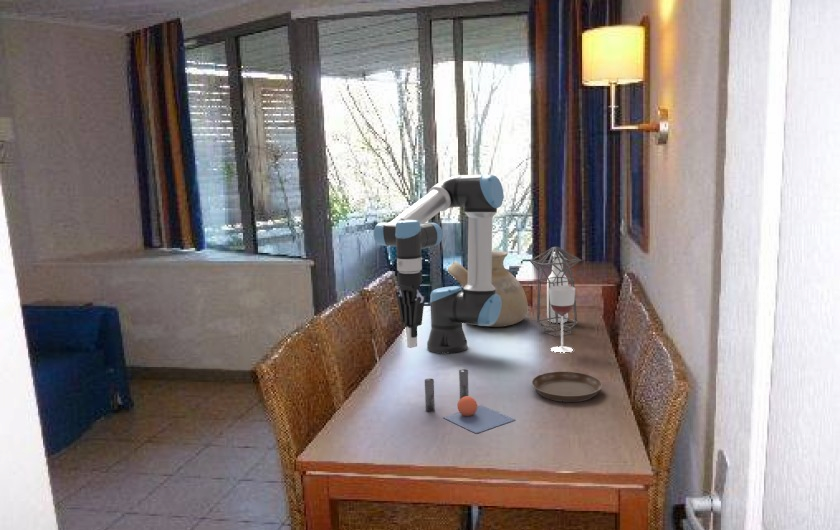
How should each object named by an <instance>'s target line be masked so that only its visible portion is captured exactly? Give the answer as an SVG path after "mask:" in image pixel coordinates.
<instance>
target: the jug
mask: <svg viewBox="0 0 840 530" xmlns="http://www.w3.org/2000/svg"><path fill="white" fill-rule="evenodd" d="M507 256H508V252H506V251H503V250H501V251H499V250H492V276H491V284H492V285H493V286H494V287H495V294H498V295H499V296H500V298H501V301H502V305H501V311H500V315H499V317H498V319H497V321H496V322H495V323H494V324H493V325H491V326H488V327H490V328H492V327H493V328H499V327H500V328H501V327H507V326H513V325H515V324H518V323H520V322H522V321H523V320H525V318H526V316H527V315H528V310H529V304H528V300H527V295H526V293H525V290H524V288H523V286H522V284H521V283H520V281H519V280H518V279H517V278H516V277H515V276H514V274H513V273H512V272H510V271H508V269H506V268H505V264H504V260H505V259H506V257H507ZM447 272H448V273H449V275H451V276H452V277H453V278H454V279H455V280H456V281H457V282H458V283H459V284H460V285H461V286H462V288H464V287H465V286H466V285H467V283H468V269H466V267H464V266H463V265H462V264H460V263H459V262H458V261H457V260H455V261H453V262H452V263H451V265H450V266H449V267H448V269H447Z"/></svg>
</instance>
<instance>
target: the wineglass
mask: <svg viewBox="0 0 840 530" xmlns="http://www.w3.org/2000/svg"><path fill="white" fill-rule="evenodd" d="M549 295H550V304H551V307H552V309H553V310H554V311H555V312H556V313H558V314H559V315H561V331H560V335H561V336H560V346H559V347H558V346H553V347H550V349H551V350H550V351H551V352H553V351H554V352H553V353H556V352H560V353H559V354H566V353H565V352H570V353H573V352H574V351H573V349H574V348H573V347H571V346H564V335H563V334H564V331H563V329H564V326H563V324H564V323H563V316H564V315H565V314H567V313H568V314H569V312H571V311H572V310H573V309H574V306H573V305H574V300H576V288H575V286H574V287H572V286H570V285H568V286H552V287H550V288H549ZM572 348H573V349H572ZM572 351H573V352H572ZM561 352H563V353H561Z"/></svg>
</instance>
